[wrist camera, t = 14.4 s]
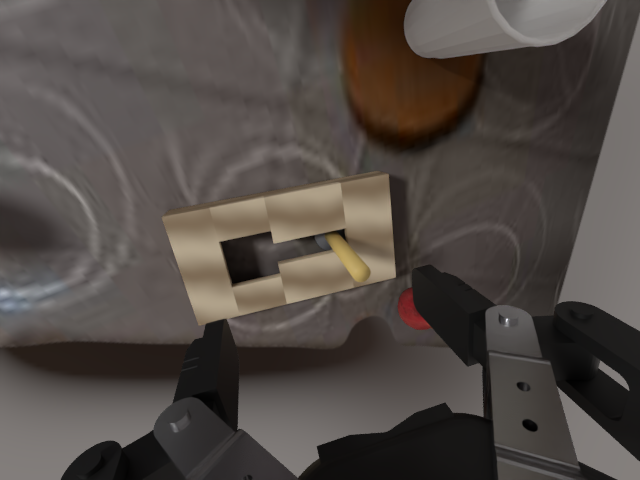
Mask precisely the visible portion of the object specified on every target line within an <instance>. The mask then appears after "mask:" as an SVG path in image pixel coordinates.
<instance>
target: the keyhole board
mask: <svg viewBox="0 0 640 480" xmlns="http://www.w3.org/2000/svg"><path fill="white" fill-rule="evenodd" d="M162 220H163V223H164V226H165V228H166V231H167V234H168V237H169V240H170V243H171V246H172V249H173V252H174V255H175V258H176V260H177V263H178V266H179V269H180V272H181V275H182V278H183V281H184V284H185V287H186V290H187V292H188V295H189V298H190V301H191V304H192V307H193V310H194V313H195V316H196V319H197V322H198V324H199V326H200V325H204V324H206V323H209V322H213V321H217V320H221V319H224V318H225V319H228V318H232V317H236V316H241V315H245V314H249V313H253V312H257V311H261V310H265V309H269V308H273V307H277V306H281V305H285V304H290V303H294V302H298V301H302V300H306V299H310V298H314V297H318V296H322V295H326V294H330V293H334V292H339V291H343V290H347V289H351V288H355V287H359V286H363V285H367V284H371V283H375V282H379V281H384V280H388V279H392V278H396V271H395V257H394V243H393V229H392V215H391V200H390V186H389V174H387V173H384V172H380V171H374V172H369V173H364V174H358V175H353V176H348V177H342V178H337V179H332V180H326V181H321V182H316V183H310V184H305V185H300V186H294V187H289V188H284V189H279V190H273V191H268V192H263V193H257V194H252V195H247V196H241V197H236V198H231V199H225V200H220V201H215V202H209V203H204V204H199V205H193V206H188V207H183V208H177V209H172V210H169V211H168V212H167V213H166V214H164V215H163V216H162ZM340 229H344V230H345V238H346V242H347V243H348V245H349V246H350V247H351V248H352V249H353V250H354V251H355V252H356V254H357V255H358V256H359V257H360V258H361V259H362V260H363V261H364V262H365V264H366V265H367V266H368V267H369V268H370V270H371V274H370V277H369V278H368V279H367V280H366V281H364V282H357V281H355V280H354V278H353V277H352V276H351V274H350V273H349V271H348V270H347V269H346V267H345V266H344V264H343V263H342V262H341V260H340V259H339V257H338V256H337V255H336V253H335V252H334V251H333V250H328V251H324V252H319V253H315V254H310V255H306V256H301V257H297V258H292V259H288V260H283V261H279V262H278V265H279V270H280V273H279V274H274V275H270V276H266V277H261V278H257V279H252V280H248V281H244V282H239V283H235V284H232V281H231V277H230V274H229V270H228V267H227V263H226V260H225V256H224V253H223V249H222V245H221V242H220V241H225V240H230V239H235V238H240V237H245V236H249V235H254V234H259V233H264V232H269V231H271V233H272V238H273V242H274V243H279V242H284V241H288V240H293V239H298V238H303V237H307V236H312V235H317V234H321V233H326V232H331V231H335V230H340Z"/></svg>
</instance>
